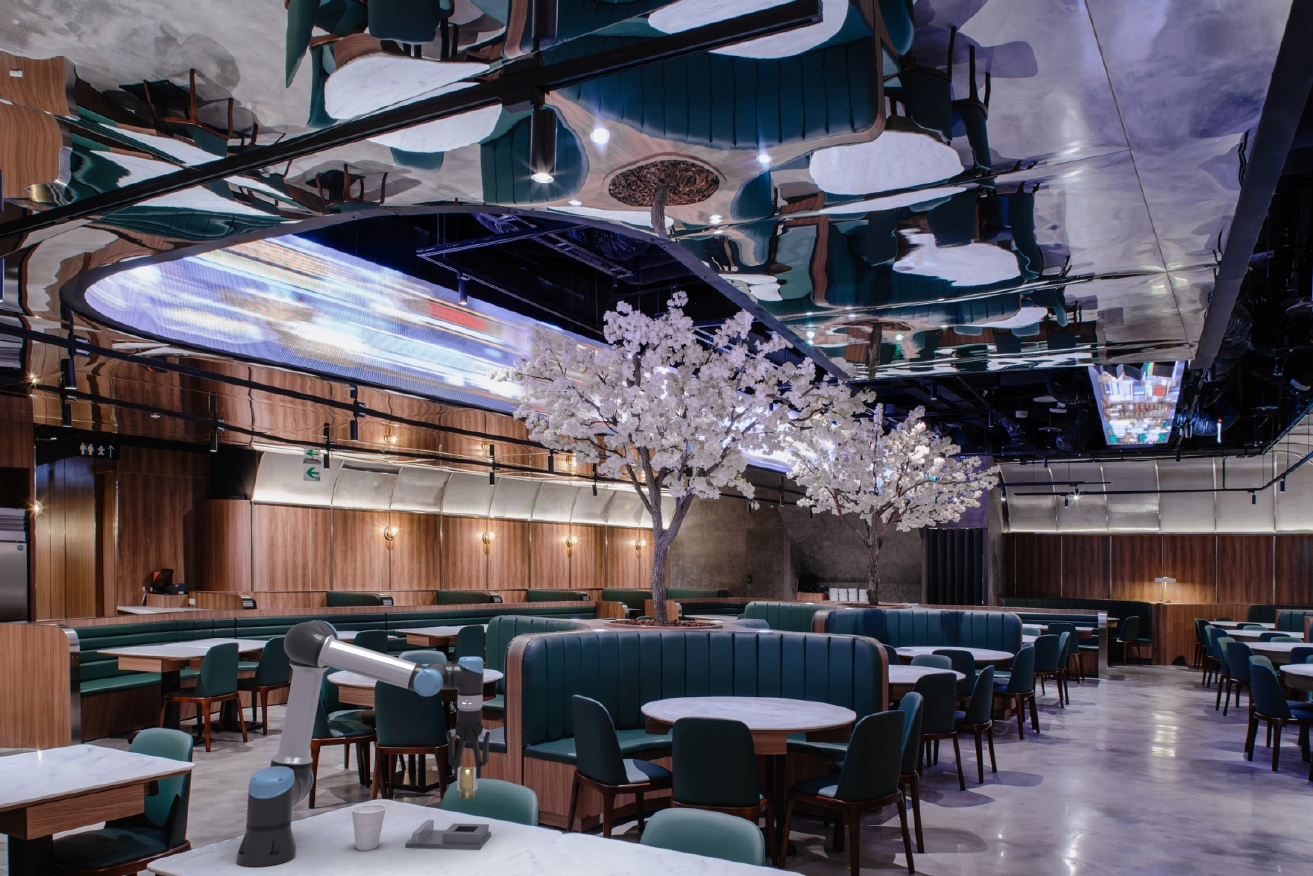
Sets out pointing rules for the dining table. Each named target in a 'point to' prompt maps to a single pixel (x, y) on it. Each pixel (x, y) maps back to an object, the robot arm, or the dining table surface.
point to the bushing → (466, 783)
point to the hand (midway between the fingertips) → (467, 789)
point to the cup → (367, 825)
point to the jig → (450, 836)
